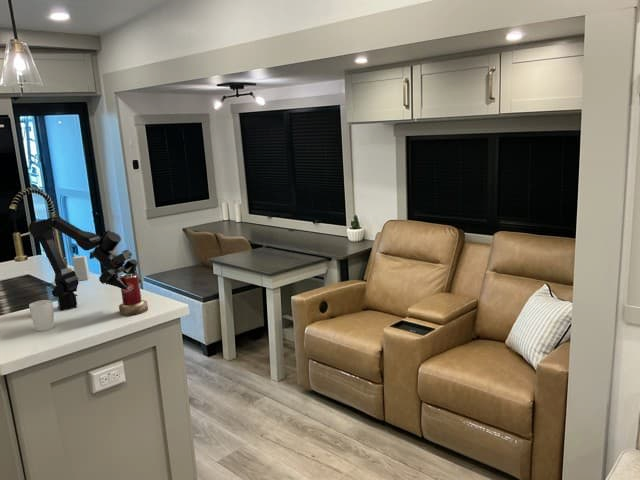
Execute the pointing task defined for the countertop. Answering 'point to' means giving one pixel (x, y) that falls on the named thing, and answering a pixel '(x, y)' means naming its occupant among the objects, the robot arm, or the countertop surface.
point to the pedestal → (133, 309)
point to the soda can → (131, 290)
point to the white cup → (42, 315)
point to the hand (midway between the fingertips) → (133, 285)
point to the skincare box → (81, 267)
